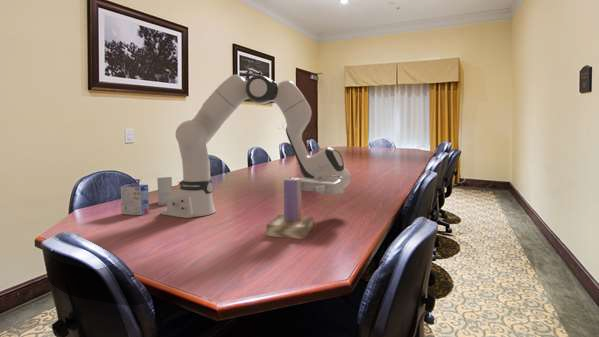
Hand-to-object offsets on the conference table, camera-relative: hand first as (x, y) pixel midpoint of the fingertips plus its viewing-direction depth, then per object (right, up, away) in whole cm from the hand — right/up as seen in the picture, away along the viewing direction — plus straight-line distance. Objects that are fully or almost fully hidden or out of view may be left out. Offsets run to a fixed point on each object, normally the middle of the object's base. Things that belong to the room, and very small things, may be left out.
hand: (304, 188), depth 132 cm
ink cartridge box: (-71, -12, +22) cm, 75 cm away
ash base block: (-5, -15, -4) cm, 16 cm away
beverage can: (-4, -11, -5) cm, 13 cm away
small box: (-65, -9, +41) cm, 78 cm away
